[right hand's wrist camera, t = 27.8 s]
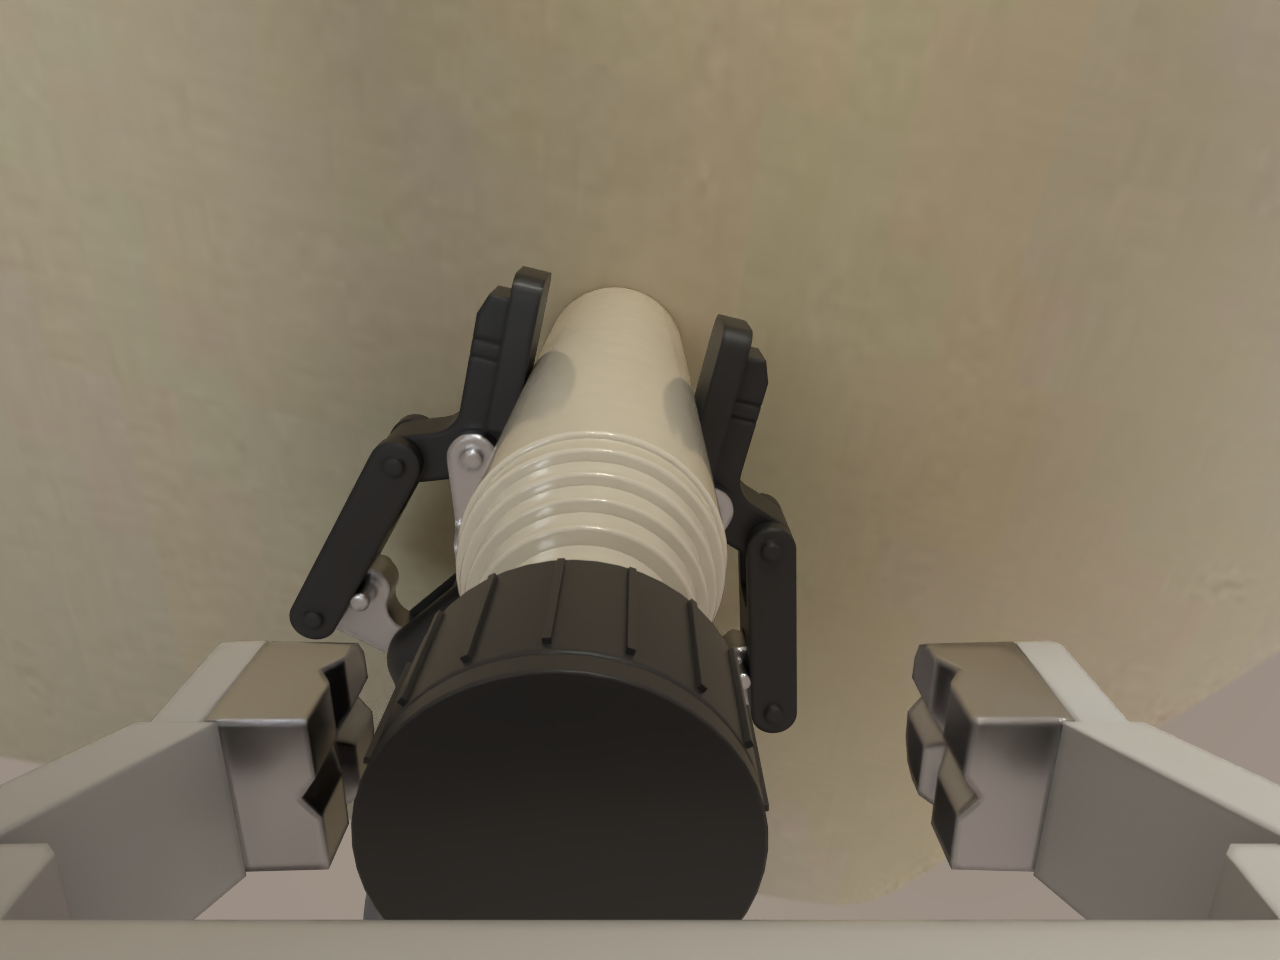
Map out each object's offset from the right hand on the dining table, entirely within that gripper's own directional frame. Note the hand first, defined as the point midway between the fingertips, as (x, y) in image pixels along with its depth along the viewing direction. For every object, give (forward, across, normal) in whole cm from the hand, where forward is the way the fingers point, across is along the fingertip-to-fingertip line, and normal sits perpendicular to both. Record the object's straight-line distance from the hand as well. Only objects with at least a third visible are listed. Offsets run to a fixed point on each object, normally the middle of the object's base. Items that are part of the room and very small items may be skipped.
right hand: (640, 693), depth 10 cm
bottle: (+18, +1, 0) cm, 19 cm away
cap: (-2, +1, 0) cm, 2 cm away
